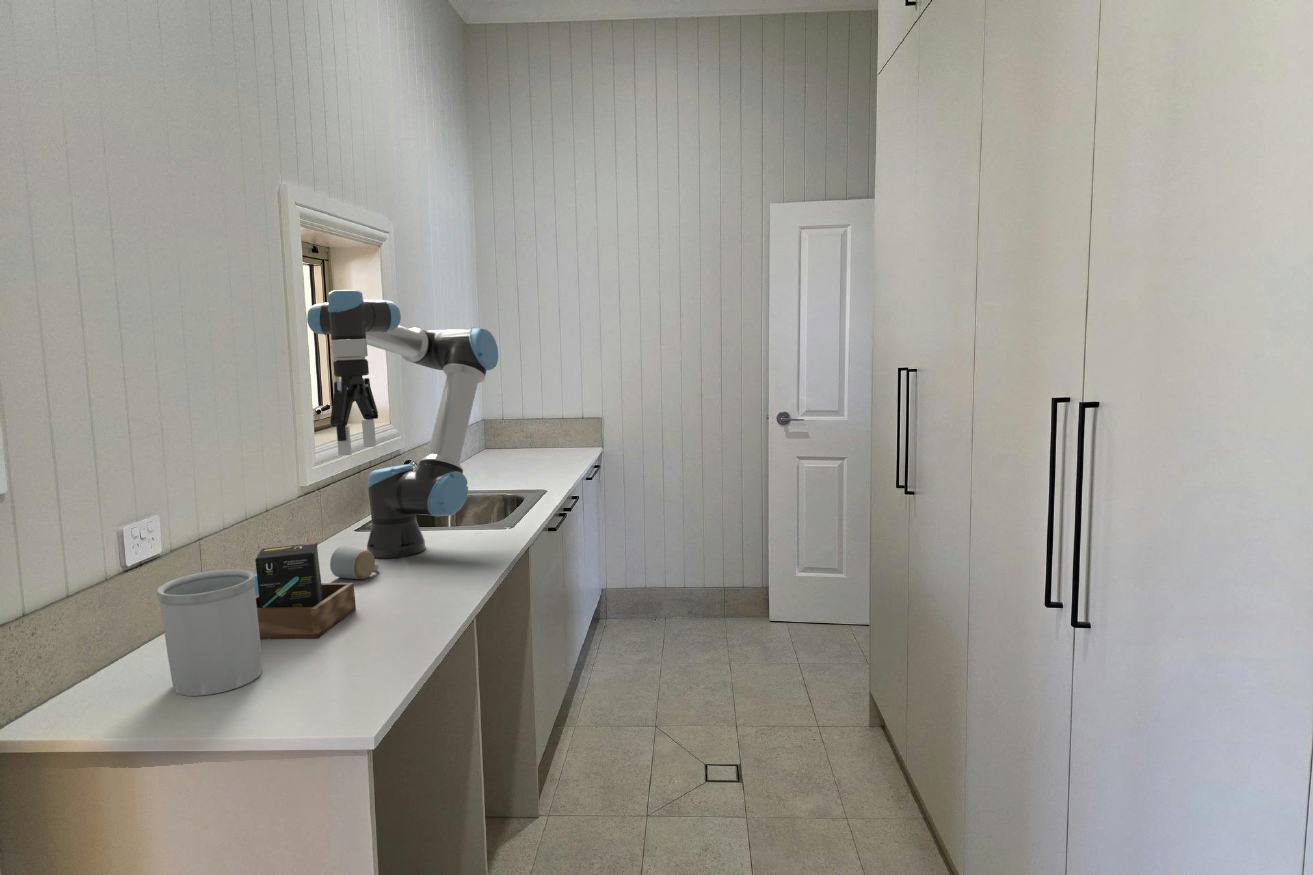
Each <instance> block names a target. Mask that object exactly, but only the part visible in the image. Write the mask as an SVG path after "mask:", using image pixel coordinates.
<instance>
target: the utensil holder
mask: <svg viewBox="0 0 1313 875" xmlns="http://www.w3.org/2000/svg"><path fill="white" fill-rule="evenodd" d="M254 584H255V573H254V572H252V571H250V570H248V569H247V570H246V569H240V568H239V569H235V568H232V569H231V568H230V569H226V568H225V569H217V570H211V571H210V570H209V571H203V572H197V573H193V574H189V575H183V576H182V577H181V576H180V577H178V578H175V579H172V580H169V581H168V582H165V583H164V584H161V585H160V586H159V587H158V588H157V590H156V597H157V600H158V601H159V605H160V611H161V612H160V613H161V619H162V625H163V633H164V639H165V646H166V654H167V659H168V663H169V664H168V666H169V672H170V677H171V682H172V687H173V691H174V692H175V693H177V695H181V696H186V697H201V696H209V695H217V694H221V693H224V692H228V691H232V690H235V689H238V688H241V687H244V686H245V685H247V684H249V683H251V682H253V681H254V680H256V679H257V678H258V677H259V676H260V675H261V673H262V671H263V664H262V663H263V662H262V649H261V648H262V646H261V639H260V634H259V624H258V615H257V606H256V597H255V588H254Z"/></svg>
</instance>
